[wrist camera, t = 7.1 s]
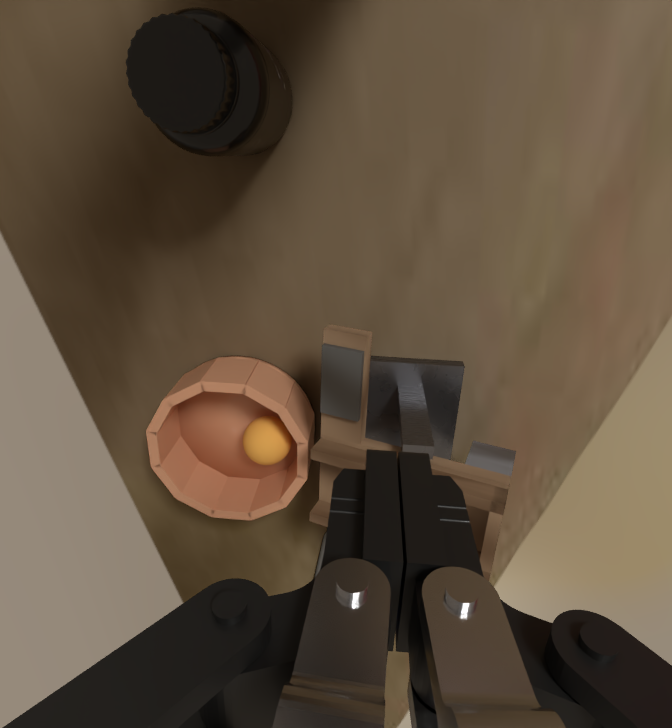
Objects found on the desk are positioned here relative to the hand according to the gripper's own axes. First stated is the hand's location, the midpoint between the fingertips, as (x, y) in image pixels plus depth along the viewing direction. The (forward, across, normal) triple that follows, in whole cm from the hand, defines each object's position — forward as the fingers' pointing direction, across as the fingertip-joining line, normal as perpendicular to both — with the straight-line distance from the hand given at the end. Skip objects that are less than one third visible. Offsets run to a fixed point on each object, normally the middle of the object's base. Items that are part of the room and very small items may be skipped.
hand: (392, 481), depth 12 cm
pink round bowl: (+27, +11, +15) cm, 33 cm away
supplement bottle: (+27, +10, -10) cm, 31 cm away
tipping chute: (+23, -4, +11) cm, 26 cm away
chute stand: (+27, -3, +15) cm, 31 cm away
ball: (+24, +8, +15) cm, 30 cm away
